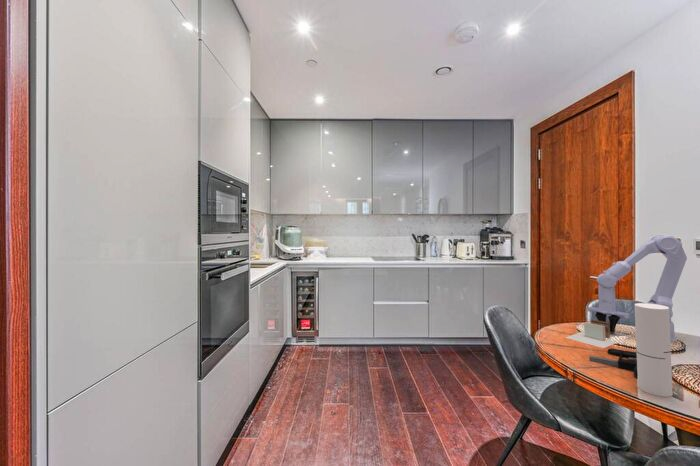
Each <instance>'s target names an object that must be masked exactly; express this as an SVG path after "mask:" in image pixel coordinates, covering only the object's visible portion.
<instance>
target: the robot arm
mask: <svg viewBox="0 0 700 466" xmlns="http://www.w3.org/2000/svg"><path fill="white" fill-rule="evenodd" d="M656 253H661V254H662V256H664V257H665V258H666V262H665V265H664V267H663V270H662V272H661V275H660V278H659V282H658V284H657V287H656V289H655V292H654V294H653V295H652V296H651V297H650V299H649V300H648V301H647V302H646V303H649V304H657V305H663V306H667V307H669V321H670V344H673V343H674V342H676V341H678V340H679V339H678V338H677V337H675V324H674V322H673V320H672V318H673V314H674V312H673V307H674V306H673V305H674V304H673V297H674V294H675V291H676V289H677V286H678V283H679V281H680V278H681V276H682V273H683V270H684V267H685V266H686V265H685V264H686V261H687V260H688V258H687V254H686V253H685V250H684V248H683V242H681V241H680V240H679V239H678V238H676V237H674V236H671V235H661V234H658V235H654V236H652V238H650V239H649V240H647V241H645V242H644V243H642V245H640V246H639V247H638V248H637V249H636V250H635V251H633V252H632V253H631V254H630V255H629V256H628V257H627V258H625V259H624V260H619V261H617V262H616V261H615V262H612V264H611V266H610V267H609V268H607V270H603V272H602V273H600V274H598V276H596V277H597V278H596V279H595V280H596V282H597V283H598V286H597V288H598V290H597V291H598V294H597V295H598V307H595V306H594V307H593V306H588V307H587V312H592V313H593V312H594V313H595V314H594V316H595V318H596V319H597V320H598V321H603V322H607V315H608V320H609V322H608V323H610V331H611V332H614V331H615V332H616V327H617V324H618V323H619V321H620V319H621V318H623V319H630V313H629V312H628V313H627V312H625V311H624V312H623V311H620V310H617V309H616V308H617V306H616V291H615V286H616V285H617V281H620V280H621V279H622V278H623V277H625V276H626V275H628V274H629V273H630V272H632V267H633V266H634V265H636V264H637V263H638V262H639V261H642V260H643V259H644V258H645V257H647V256H648V255H649V254H656Z"/></svg>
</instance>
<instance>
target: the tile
mask: <svg viewBox="0 0 700 466" xmlns="http://www.w3.org/2000/svg"><path fill="white" fill-rule="evenodd" d="M583 326H584V330H583V331H585V336H586V337H590V338H594V339H598V340H602V341H605V340H606V336H605V326H601V325H597V324H592V323H590V322H588V321H587V322H586V321H585V322H584V323H583Z"/></svg>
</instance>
